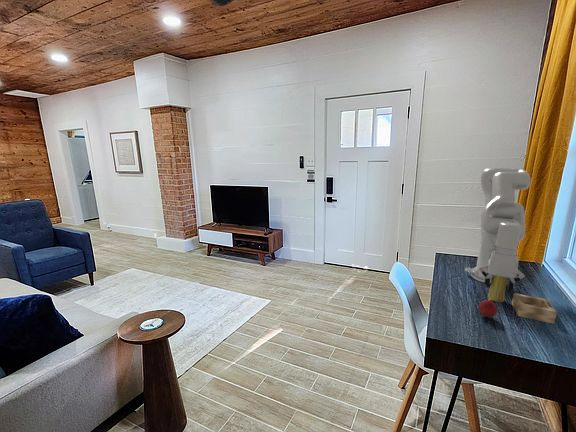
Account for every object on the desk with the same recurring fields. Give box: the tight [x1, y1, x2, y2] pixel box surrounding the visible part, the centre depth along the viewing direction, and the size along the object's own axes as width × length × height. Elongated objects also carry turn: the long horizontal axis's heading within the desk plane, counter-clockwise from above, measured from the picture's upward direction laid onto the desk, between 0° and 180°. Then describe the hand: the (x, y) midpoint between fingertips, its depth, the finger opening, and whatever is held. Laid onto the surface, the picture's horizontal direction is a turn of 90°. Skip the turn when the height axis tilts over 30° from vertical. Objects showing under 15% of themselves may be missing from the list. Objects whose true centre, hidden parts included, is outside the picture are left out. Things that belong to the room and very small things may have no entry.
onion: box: [478, 298, 498, 318], centre depth 109 cm, size 6×6×8 cm
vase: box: [487, 275, 509, 303], centre depth 123 cm, size 6×6×14 cm
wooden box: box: [511, 292, 558, 325], centre depth 113 cm, size 11×11×5 cm
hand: (497, 287), depth 123 cm, fingers open, 7 cm apart
